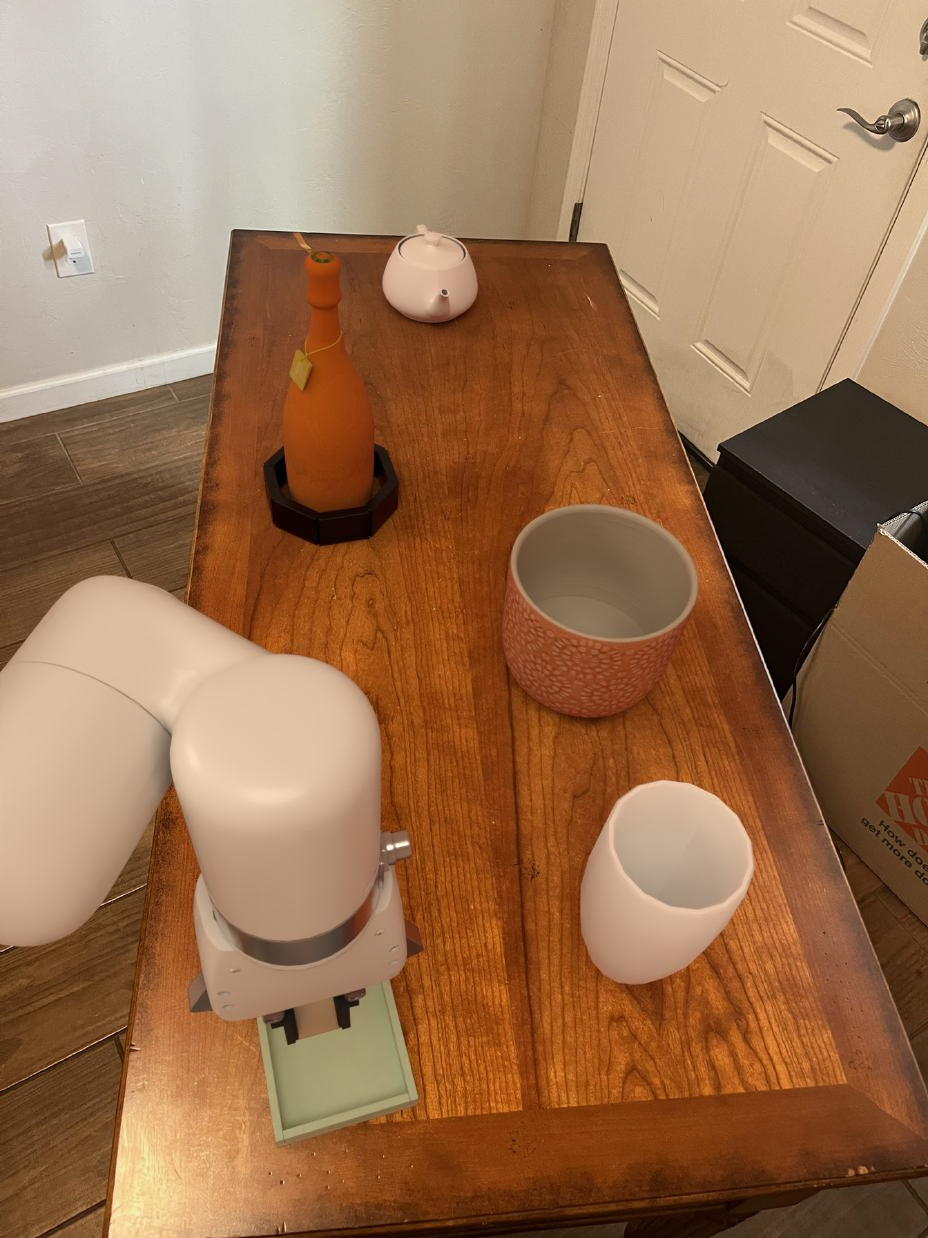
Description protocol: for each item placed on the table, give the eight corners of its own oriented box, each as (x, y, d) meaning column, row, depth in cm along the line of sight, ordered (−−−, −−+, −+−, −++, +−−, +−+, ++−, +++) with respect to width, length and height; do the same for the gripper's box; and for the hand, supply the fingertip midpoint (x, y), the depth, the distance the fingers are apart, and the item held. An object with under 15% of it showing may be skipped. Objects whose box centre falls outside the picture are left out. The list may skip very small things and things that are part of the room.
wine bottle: (298, 464, 112) (281, 222, 90) (380, 475, 112) (383, 235, 90) (279, 520, 106) (255, 275, 83) (365, 532, 106) (365, 290, 83)
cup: (523, 973, 75) (567, 850, 59) (596, 881, 81) (654, 745, 65) (631, 1063, 72) (710, 958, 55) (700, 961, 77) (790, 838, 61)
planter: (477, 615, 99) (492, 509, 88) (629, 600, 103) (663, 496, 91) (513, 751, 89) (535, 651, 77) (682, 730, 92) (727, 631, 80)
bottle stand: (280, 552, 103) (277, 526, 100) (259, 467, 112) (256, 440, 109) (407, 533, 107) (408, 507, 103) (377, 451, 115) (378, 425, 112)
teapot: (373, 268, 142) (374, 198, 134) (462, 266, 145) (468, 198, 137) (393, 353, 129) (395, 281, 120) (490, 350, 131) (499, 278, 123)
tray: (277, 1148, 66) (275, 1142, 65) (234, 874, 79) (232, 864, 77) (417, 1105, 69) (418, 1098, 67) (354, 846, 81) (354, 836, 80)
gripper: (445, 766, 46) (428, 918, 60) (101, 842, 42) (168, 985, 56) (492, 908, 42) (461, 1037, 56) (111, 1008, 38) (182, 1119, 52)
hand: (314, 1010), depth 56 cm, fingers closed on brush, 2 cm apart
